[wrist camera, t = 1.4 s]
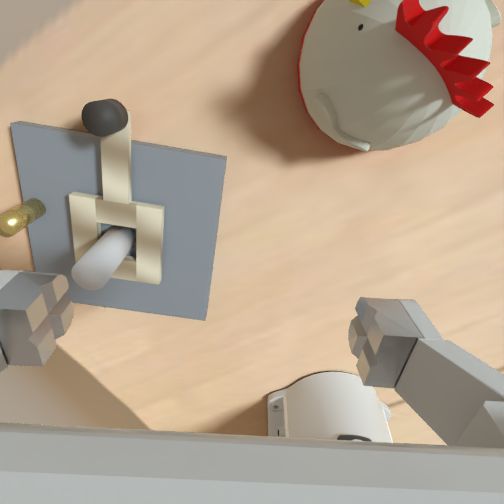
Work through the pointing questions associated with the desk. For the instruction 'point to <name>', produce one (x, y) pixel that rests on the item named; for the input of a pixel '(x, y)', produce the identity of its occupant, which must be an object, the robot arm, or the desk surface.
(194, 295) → the board
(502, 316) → the desk surface
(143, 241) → the knobbed lever handle
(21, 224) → the gold rounded cylinder
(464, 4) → the kitchen timer
